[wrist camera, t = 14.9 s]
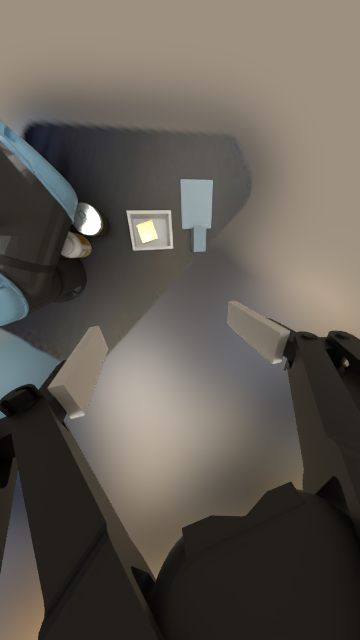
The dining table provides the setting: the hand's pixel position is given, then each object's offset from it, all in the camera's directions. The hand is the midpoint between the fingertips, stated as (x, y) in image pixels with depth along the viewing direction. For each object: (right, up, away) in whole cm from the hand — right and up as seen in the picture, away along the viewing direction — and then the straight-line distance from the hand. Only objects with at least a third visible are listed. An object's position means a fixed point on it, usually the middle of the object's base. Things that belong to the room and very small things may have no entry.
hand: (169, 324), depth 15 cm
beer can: (-20, +25, +22) cm, 39 cm away
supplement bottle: (-25, +20, +23) cm, 40 cm away
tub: (-7, +24, +25) cm, 36 cm away
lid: (+6, +29, +26) cm, 40 cm away
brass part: (-8, +24, +24) cm, 35 cm away
